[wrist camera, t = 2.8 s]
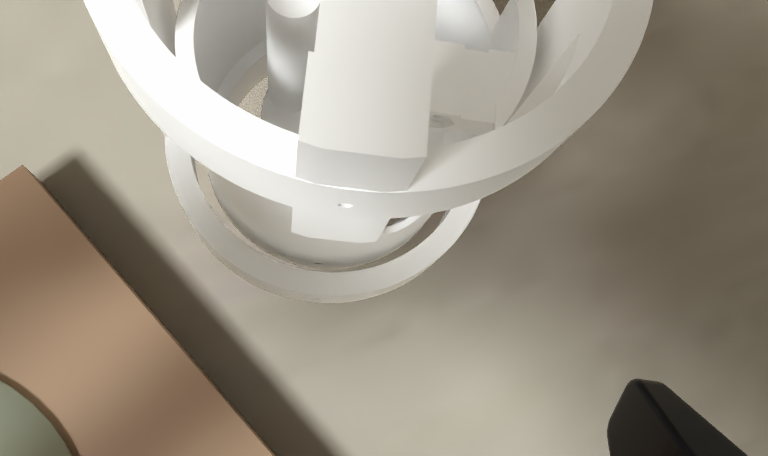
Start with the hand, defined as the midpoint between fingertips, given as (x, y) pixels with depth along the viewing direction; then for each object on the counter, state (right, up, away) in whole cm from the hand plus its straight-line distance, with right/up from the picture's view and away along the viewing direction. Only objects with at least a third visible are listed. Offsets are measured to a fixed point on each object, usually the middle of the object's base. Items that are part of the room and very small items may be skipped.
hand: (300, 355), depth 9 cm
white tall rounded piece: (-1, +2, +13) cm, 13 cm away
